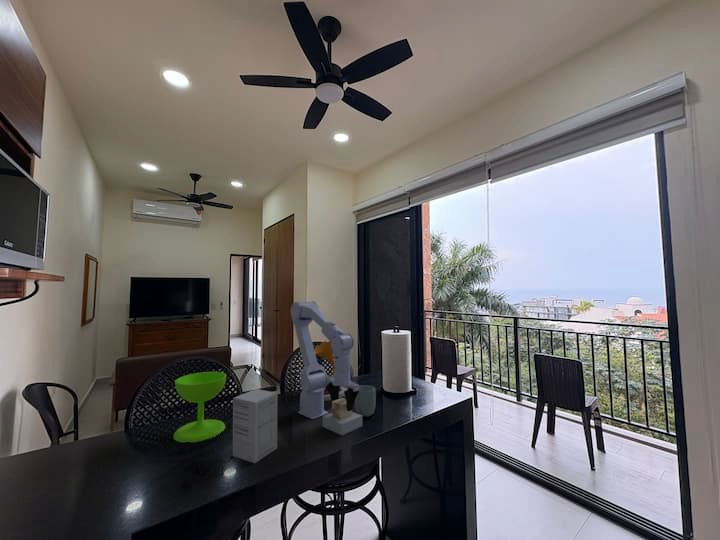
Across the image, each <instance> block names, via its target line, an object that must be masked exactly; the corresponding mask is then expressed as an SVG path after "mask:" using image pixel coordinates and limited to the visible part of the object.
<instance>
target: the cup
mask: <svg viewBox="0 0 720 540" xmlns="http://www.w3.org/2000/svg"><path fill="white" fill-rule="evenodd" d="M376 393H377V391H376V387H375V386H372V385H369V384H368V385H367V384H365V385H359V393H358V395H357V397H356V399H355V402H354V405H355V410H356V413H357V414H360V415H362V416H363V418H364V417H365V418H366V417H371V416H372V415H373V414H374V412H375V410H376V403H377V401H376V399H377V397H376Z"/></svg>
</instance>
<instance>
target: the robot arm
mask: <svg viewBox="0 0 720 540" xmlns="http://www.w3.org/2000/svg"><path fill="white" fill-rule="evenodd" d="M289 312H290V316H291V319H292V324H293V325H294V329H295V334H296V338H297V341H298V345H299V346H298V347H299V349H300V353H301V354H300V355H301V359H302V363H303V366H304V367H303V369H302V370H301V372H300V373H299V377H300V387H301V388H300V389H301V392H300V394H299V395H300V396H299V410H298V412H297V414H300V415H302V416H304V417H307V418H308V419H311V420H315V419H317V418H320V417H323V416H324V415H327V414H329V411H327V410H325V407H324V405H325V401H324V390H325V387H326V388H327V390H328V391H329V394H330V397H331V400H330V401H331V402H332V401H335V400H338V399H340V398H339V390H340V386H341V387H344V388H347V390H346V391H344V394H345V396H344V397H345V399H346V403H347V411H351V410H352V411H353V410H354V405H355V399H356V397H357V395H358V393H359V386H360V385H359V384H358V383H355V382H354V381H353V380H351V350H352V349H353V348H354V343H355V342H354V341H355V340H354V338H353V336H352V335H351V334H350V333H348V332H347V333H346V332H344V331H343V330H342V329H341V328H340V327H339V326H338V325H337V324H336V322H335V321H329V320H328V319H327V318H326V316H325V315H324V314H323V313H322V312H321V310H320V306H319V305H318V304H317V302H316V301H294V302H293V303H292V305H291V307H290V311H289ZM313 321H314V323H316V324H317V325H318V326H319V327H320V328H321V333H322V334H323V336H324V337H325V338H326V339H327V340H328V342H329V341H330V342H331V348H332V350H333V358H334V373H333V377H329V378H328V376H327V375H328V374H327V372H326V371H325V367H324V366H323V365H321V364H320V363H319V362H318V359H317V355H316V354H315V351H314V349H315V347H314V344H313V340H312V336H311V333H310V332H311V331H310V328H309V326H310V324H311V323H312V322H313ZM327 384H329V385H327Z"/></svg>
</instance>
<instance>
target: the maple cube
mask: <svg viewBox="0 0 720 540" xmlns="http://www.w3.org/2000/svg"><path fill="white" fill-rule="evenodd" d="M352 412H353V410H351V411H347V403H346V398H344V397H342V398H339V399H338V400H335V401H332V400H331V413H332V416H333V417H336V418H338V419H341V420H342V419H345V418H347V417H350V416H352Z"/></svg>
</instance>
